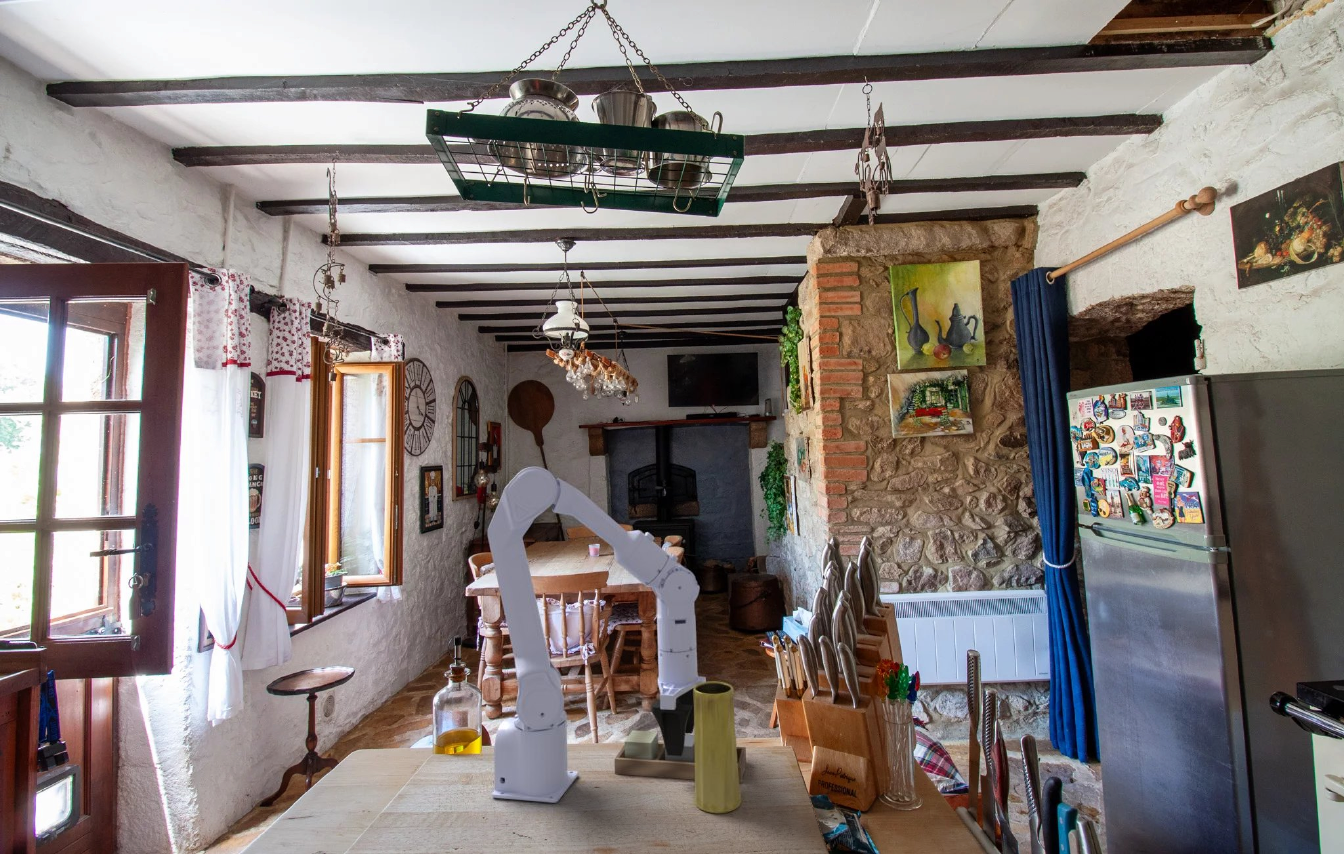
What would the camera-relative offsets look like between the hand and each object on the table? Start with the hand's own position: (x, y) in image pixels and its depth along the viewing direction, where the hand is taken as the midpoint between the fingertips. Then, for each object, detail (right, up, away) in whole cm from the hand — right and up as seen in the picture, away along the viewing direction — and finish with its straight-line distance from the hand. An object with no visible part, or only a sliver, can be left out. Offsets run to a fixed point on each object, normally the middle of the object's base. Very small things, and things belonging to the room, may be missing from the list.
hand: (680, 742), depth 88 cm
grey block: (0, -4, 0) cm, 4 cm away
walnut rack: (0, -3, 0) cm, 3 cm away
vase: (+5, -3, -10) cm, 11 cm away
